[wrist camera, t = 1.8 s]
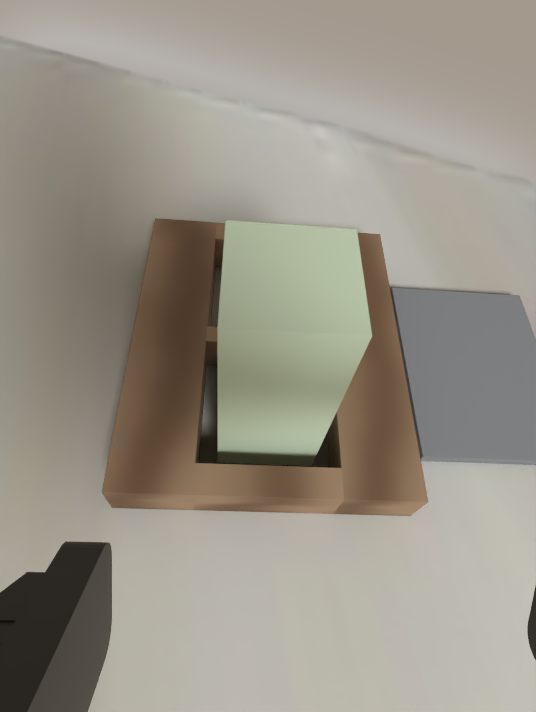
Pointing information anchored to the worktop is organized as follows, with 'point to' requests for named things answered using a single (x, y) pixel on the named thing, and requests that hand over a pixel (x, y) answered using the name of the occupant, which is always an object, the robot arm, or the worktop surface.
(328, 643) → the worktop surface
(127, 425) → the puzzle board
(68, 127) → the worktop surface
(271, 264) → the sage block
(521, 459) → the slate mat
